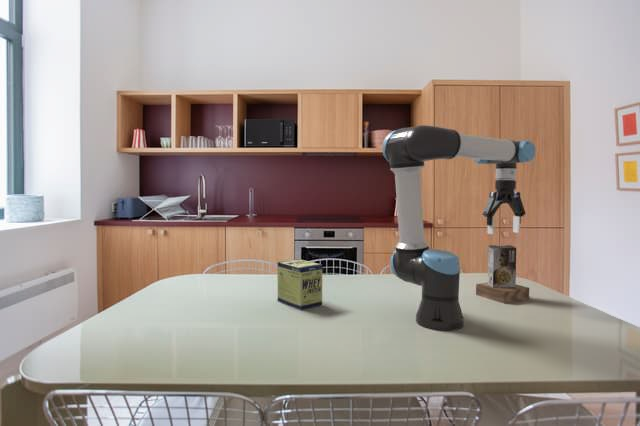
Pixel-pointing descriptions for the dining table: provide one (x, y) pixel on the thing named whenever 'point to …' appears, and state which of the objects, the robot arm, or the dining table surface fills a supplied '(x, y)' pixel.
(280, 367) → the dining table surface
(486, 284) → the walnut riser block
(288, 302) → the protein box
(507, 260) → the coffee box
